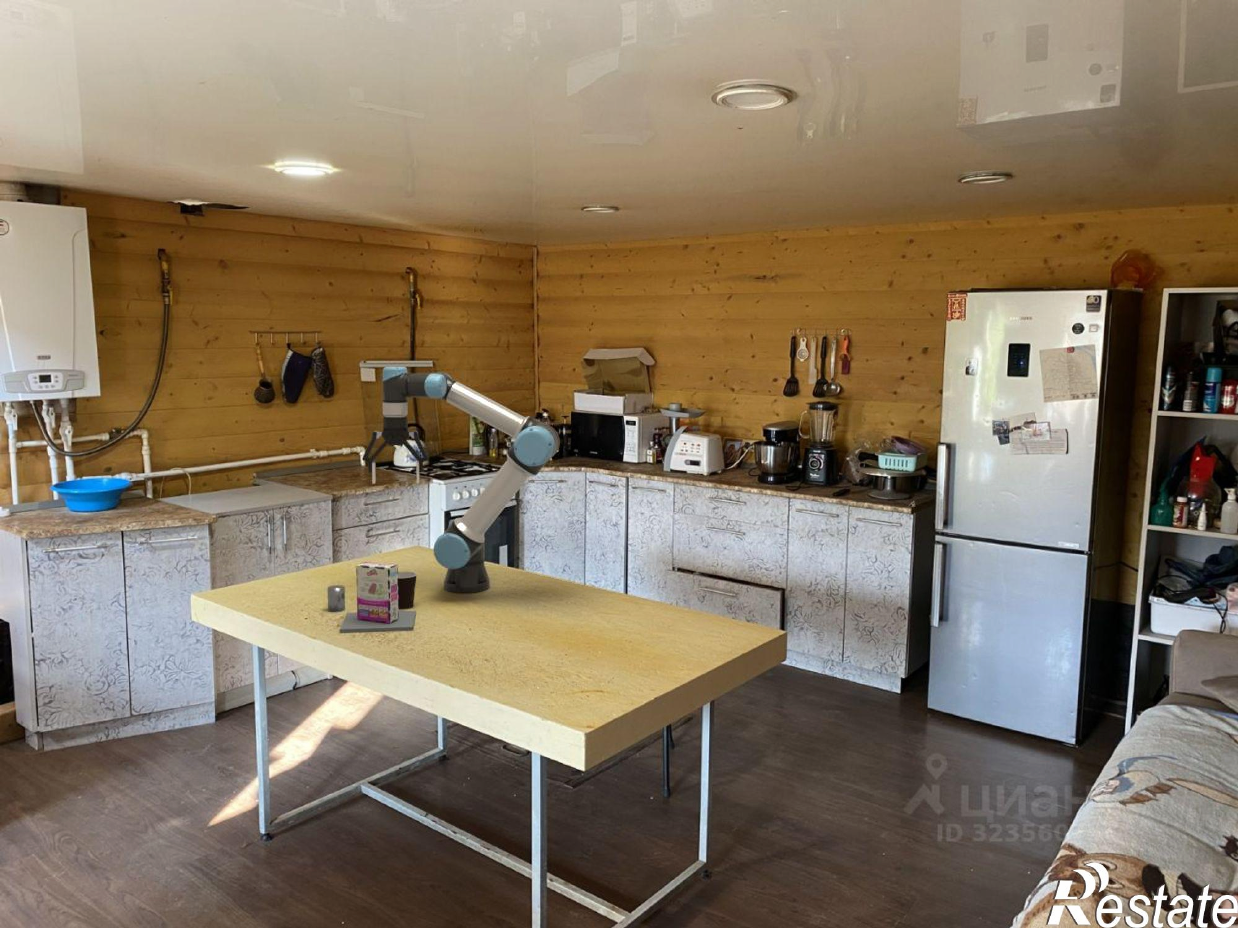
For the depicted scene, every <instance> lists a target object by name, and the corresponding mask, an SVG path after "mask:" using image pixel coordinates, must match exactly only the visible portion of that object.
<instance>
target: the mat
mask: <svg viewBox="0 0 1238 928" xmlns="http://www.w3.org/2000/svg"><path fill="white" fill-rule="evenodd" d="M416 616H417V610H399V619H398V620H397V621H394V622H392V623H390V624H389V623H380V622H372V621H363V620H358V619H357V611H356V612H347V613H346V614H345V617H344V618H343V621H342V623H341V625H340V628H339V634H343V633H348V634H349V633H371V632H372V633H373V632H377V633H378V632H402V631H403V632H406V631H407V632H408V631H414V628H415V627H414V626H415V623H416V622H415V621H416Z"/></svg>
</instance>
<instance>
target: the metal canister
mask: <svg viewBox="0 0 1238 928" xmlns="http://www.w3.org/2000/svg"><path fill="white" fill-rule="evenodd" d="M345 587H346V586H345V585H341V584H336V585H329V586H327V588H326V590H327V611H328V612H329V613H340V612H344V611H345V610H346V588H345Z"/></svg>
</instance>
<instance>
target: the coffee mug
mask: <svg viewBox="0 0 1238 928" xmlns="http://www.w3.org/2000/svg"><path fill="white" fill-rule="evenodd" d="M417 577H418V576H417V572H414V571H410V570H409V571H404V570H403V571H398V609H399V610H408V609H411V608H413V607H414V602H415V593H416V584H417Z"/></svg>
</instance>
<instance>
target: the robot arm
mask: <svg viewBox="0 0 1238 928" xmlns="http://www.w3.org/2000/svg"><path fill="white" fill-rule="evenodd" d="M381 382H382V383H381V384H382V385H381V386H382V387H381V388H382V415H383V417H382V432H381V431H378V430H374V431H373V432H372V436H371V437H372V438H371V440H370V442H369V444H368V446H367V448H366V449H365V450H366V451H365V453H364V454H363V456H362V461H364V462H367V463H368V473H369V474H371V475H372V476H371V479H372V480H371V481H372V484H376V483H377V482H376V479H377V477H376V476H377V475H376V472H377V471H376V462H375V461H374V460H375V459H376V458H377V457H378V456H379V454H380V453H381V452H382V451H383V450H384V448H385V447H386V446H387V445H388V446H390V447H392V446H393V447H394V446H398V447H401V446H404V447H405V448H406V449H407V450H408V451H409V452H410V454H411V455H412V456H413V457H414V458H415V459H416V460H417V461H416V464H415V465H416V484H420V473H423V472H424V462H427V461H429V458H430V457H429V455H428V453H427V452H426V450H425V447H424V446H423V444H422V442H421V440H420V438H419V432H418V430H415V431H410V432H409V429H408V427H409V426H408V423H409V421H408V420H409V419H408V417H407V416H408V413H409V412H408V398H419V399H420V398H422V399H423V398H424V399H432V400H433V399H440V400H442V401H444V402H445V403H449V404H450V405H452V406H454V407H455V408H457V409H459V410H461V411H463V412H465V413H467V414H468V415H471V416H472V417H474V418H476V419H478V420H480V421H482V422H484V423H486V424H487V425H489V426H491V427H493V428H495V429H497V430H498V431H500V432H502V433H504V434H506V435H508V436H510V437H511V438H513V439H514V442H513V444H512V445H511V446H510V448H509V449H507V452H506V461H505V462H504V463H503V464H502V466H501V467H500V469H499V470H498V471H497V472H496V473H495V475H494V477H492V479H491V480H490V481H489V483H488V484H487V485H486V486H485V488H484V489H483V490H482V492H481V493H480V494H479V495H478V497H477V498H476V499H475V501H474V502H472V505H471V506H470V507H469V508H468V510H467V511H466V513H464V514H463V516H462V517H457V518H455V519H450V520H449V521H448V527H447V528H446V530H445V531H444V533H442V534H441V535H440V536H438V537H437V538H436V541H435V542H434V544H433V555H434V558H435V560H436V561H437V563H438V564H439V565H441V566H442V567H443V568H445V569H447V570H446V574H445V577H444V580H443V589H444V590H445V591H447V592H452V593H460V594H465V593H466V594H468V593H470V594H471V593H479V592H483V591H486V590H489V588H490V586H491V585H490V582H491V581H490V577H489V574H488V572H487V567H486V566H485V540H486V539H485V534H486V532H487V531H488V529H489V528H490V527H491V526H492V524H493V523H494V522H495V521H496V519H497V518H498V516H500V514H501V513H502V512H503V510H504V509H505V508H506V507H507V506H508V504H509V503H510V501H511V500H512V499H513V498H514V496H515V495H516V494H517V492H519V490H520V489H521V488H522V486H523V485H524V484H525V482H526V481H527V480H528V479H529V478H530V477H536V476H537V475H538V474H539V473H540V471H541V470H542V469H543V468H544V467H545V466H546V464H547V462H548V461H549V460H550V459H552V457H554V456H555V455H556V454H557V452H558V451H559V448H560V443H561V440H560V437H559V436H560V435H559V434H558V432H557V430H555V428H554V427H552V426H550V425H549V424H547V423H545V422H543V421H541V420H537V419H536V418H533V417H531V416H529V415H528V416H523V415H521V414H519V413H518V412H515V411H513V410H511V408H508V407H506V406H504V405H502V404H500V403H499V402H496V401H495V400H493V399H491V398H490V397H487V396H485V395H483V394H482V393H480V392H478V391H476V390H474V389H472V388H470V387H468V386H466V385H465V384H463V383H461V382H459V381H456V380H455V379H453V378H452V377H451V376H450V375H449V374H447V373H445V372H441V371H437V372H433V373H431V372H430V373H409V372H408V369H407V367H406V366H385V367H383V369H382V380H381ZM380 437H382V438H383V440H384V442H382V443H381V445H380V446H379V447H378V448H377V450H375V452H374V453H373V454H372V455H371V456H370V457H369V455H370V453H371V452H372V449H373V447H374V445H375V444H376V441H377V439H379V438H380ZM408 438H411V439H414V442H415V444H416V445H417V448H418V449H419V451H420V453H421V455H420V454H419V453H418V452H417V451H416V449H415V448H414V447H413V446H412V445H411V444H410V442H409V441H408Z"/></svg>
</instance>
